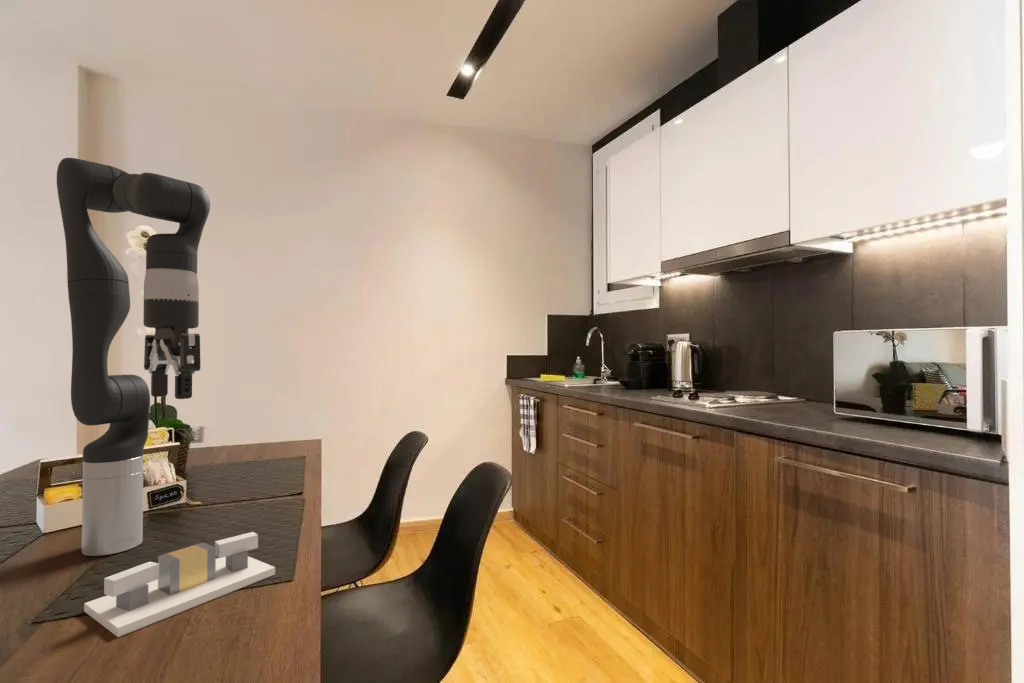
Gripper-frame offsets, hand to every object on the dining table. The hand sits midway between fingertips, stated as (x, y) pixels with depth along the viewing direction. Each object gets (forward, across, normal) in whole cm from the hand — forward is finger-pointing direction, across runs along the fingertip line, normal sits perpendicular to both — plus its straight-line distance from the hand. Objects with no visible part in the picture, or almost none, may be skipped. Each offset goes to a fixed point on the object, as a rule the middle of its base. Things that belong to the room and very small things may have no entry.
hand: (171, 397), depth 82 cm
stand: (+30, -6, 0) cm, 31 cm away
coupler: (+29, -6, 0) cm, 30 cm away
